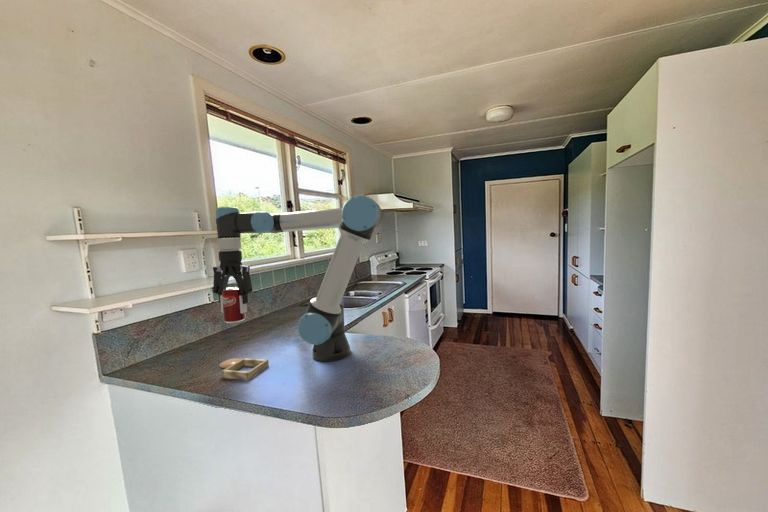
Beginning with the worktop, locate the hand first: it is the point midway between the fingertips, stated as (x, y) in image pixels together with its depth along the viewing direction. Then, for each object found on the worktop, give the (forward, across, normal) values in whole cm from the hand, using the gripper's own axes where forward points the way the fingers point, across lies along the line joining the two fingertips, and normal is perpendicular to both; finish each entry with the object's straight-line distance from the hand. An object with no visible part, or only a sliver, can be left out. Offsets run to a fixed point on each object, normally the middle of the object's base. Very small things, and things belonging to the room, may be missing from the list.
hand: (234, 312), depth 112 cm
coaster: (+22, +6, -4) cm, 23 cm away
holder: (+21, -5, +2) cm, 22 cm away
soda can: (+3, 0, 0) cm, 3 cm away
